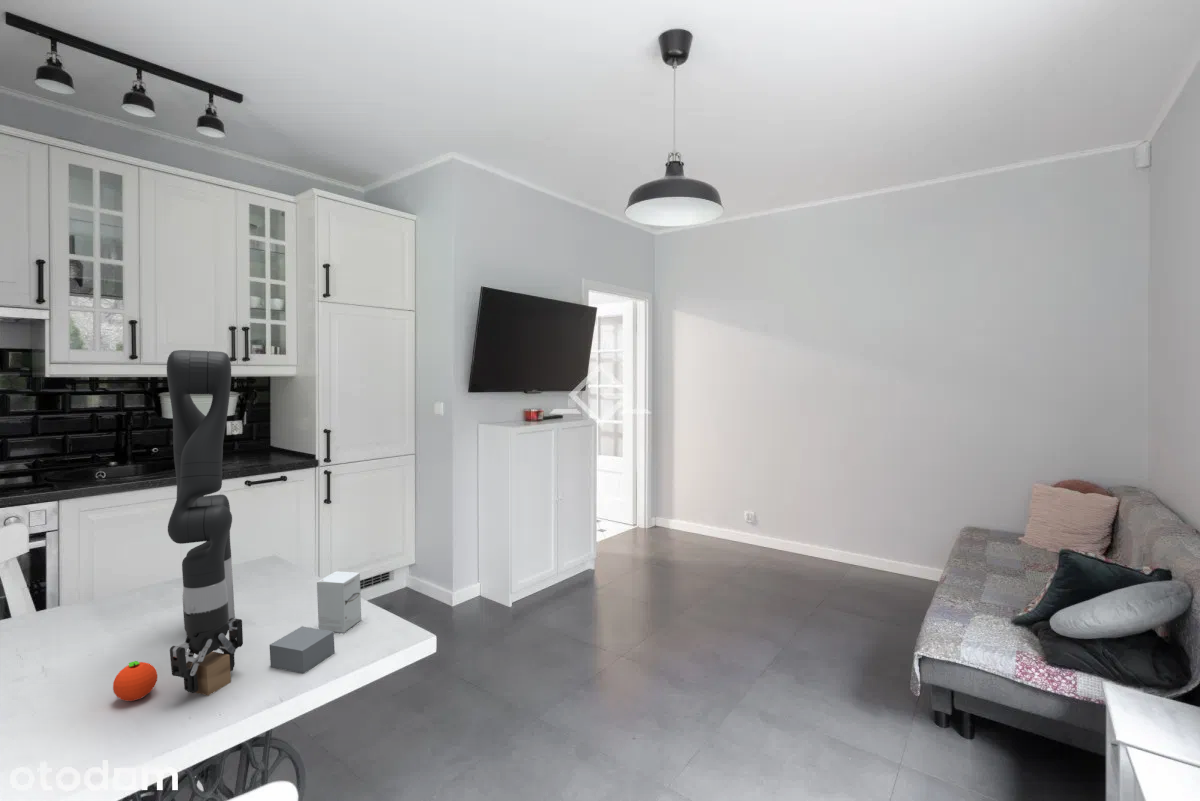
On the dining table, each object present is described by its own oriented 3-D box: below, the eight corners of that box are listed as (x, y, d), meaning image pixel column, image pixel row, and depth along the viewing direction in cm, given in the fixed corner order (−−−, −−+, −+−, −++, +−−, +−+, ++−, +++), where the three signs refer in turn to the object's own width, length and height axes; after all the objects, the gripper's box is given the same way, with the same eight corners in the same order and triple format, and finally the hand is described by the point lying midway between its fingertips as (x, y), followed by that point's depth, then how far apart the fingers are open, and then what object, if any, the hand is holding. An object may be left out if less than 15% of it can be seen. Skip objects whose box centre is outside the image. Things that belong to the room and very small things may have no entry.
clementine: (110, 696, 115) (107, 662, 115) (153, 682, 121) (150, 649, 120) (117, 713, 110) (115, 677, 110) (162, 697, 115) (160, 662, 115)
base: (270, 666, 126) (269, 644, 126) (303, 647, 135) (302, 626, 134) (303, 673, 123) (302, 650, 123) (334, 652, 132) (333, 631, 132)
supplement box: (344, 633, 141) (342, 583, 140) (317, 630, 143) (315, 581, 142) (362, 620, 148) (360, 572, 147) (337, 617, 150) (334, 570, 149)
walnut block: (189, 691, 117) (188, 663, 117) (212, 678, 122) (211, 651, 121) (208, 695, 116) (206, 667, 115) (231, 682, 120) (229, 654, 120)
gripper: (224, 587, 125) (228, 661, 127) (156, 616, 112) (161, 698, 113) (250, 591, 123) (255, 666, 124) (184, 621, 109) (190, 704, 111)
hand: (210, 681), depth 119 cm, fingers open, 7 cm apart
